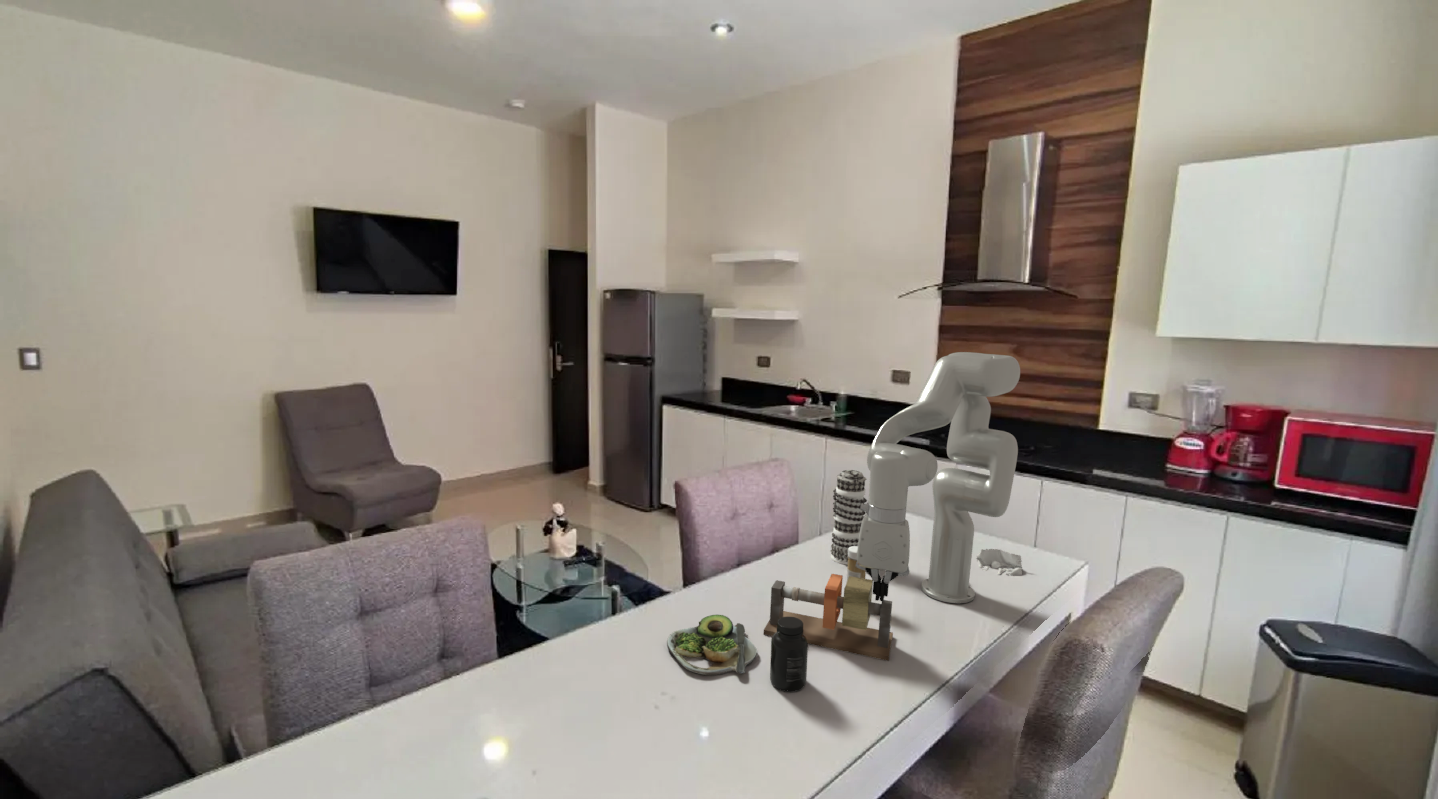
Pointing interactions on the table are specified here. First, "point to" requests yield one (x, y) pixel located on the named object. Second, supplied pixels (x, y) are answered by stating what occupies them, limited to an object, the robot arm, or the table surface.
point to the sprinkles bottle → (852, 560)
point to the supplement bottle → (789, 655)
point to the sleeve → (857, 602)
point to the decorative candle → (847, 513)
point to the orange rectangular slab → (832, 601)
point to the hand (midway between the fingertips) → (879, 598)
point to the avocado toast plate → (713, 646)
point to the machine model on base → (841, 636)
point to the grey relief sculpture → (1000, 561)
